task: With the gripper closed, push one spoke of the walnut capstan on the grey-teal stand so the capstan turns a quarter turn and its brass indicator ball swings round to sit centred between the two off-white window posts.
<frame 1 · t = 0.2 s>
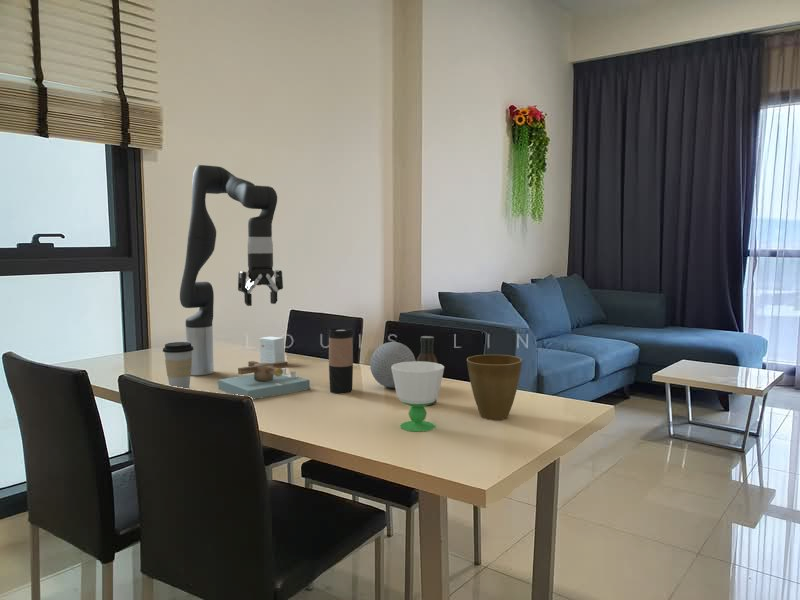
hand: (261, 304, 190), 28 cm above the table, tool pointing down, fingers open, 8 cm apart
stand: (264, 388, 201), on the table
small box: (272, 364, 241), on the table
travel mug: (341, 391, 198), on the table
capstan: (265, 371, 199), point 6 cm above the table, hinge at 0.0°
coffee cup: (179, 390, 199), on the table
sauce bottle: (426, 404, 183), on the table
decorative ball: (393, 387, 203), on the table
cup: (417, 427, 160), on the table
plant pot: (493, 417, 169), on the table
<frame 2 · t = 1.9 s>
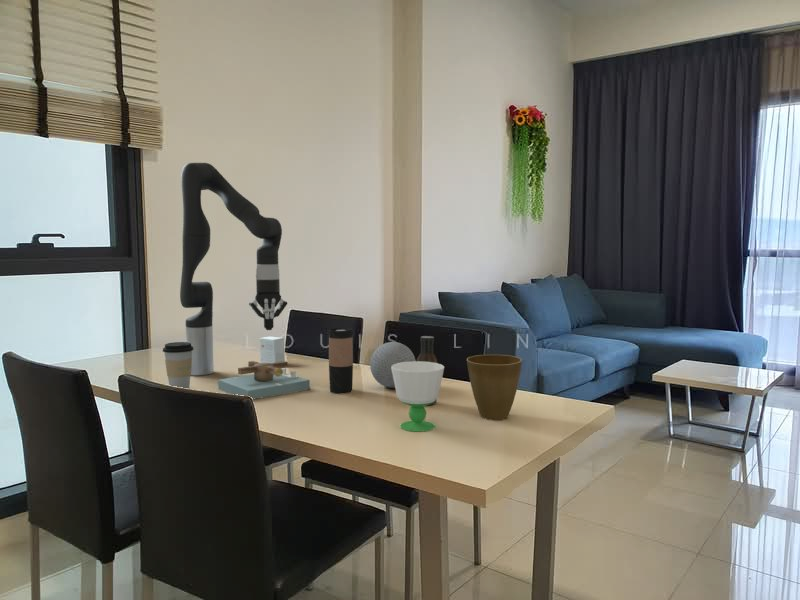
hand: (268, 329, 206), 18 cm above the table, tool pointing down, fingers closed
nothing on the table moved.
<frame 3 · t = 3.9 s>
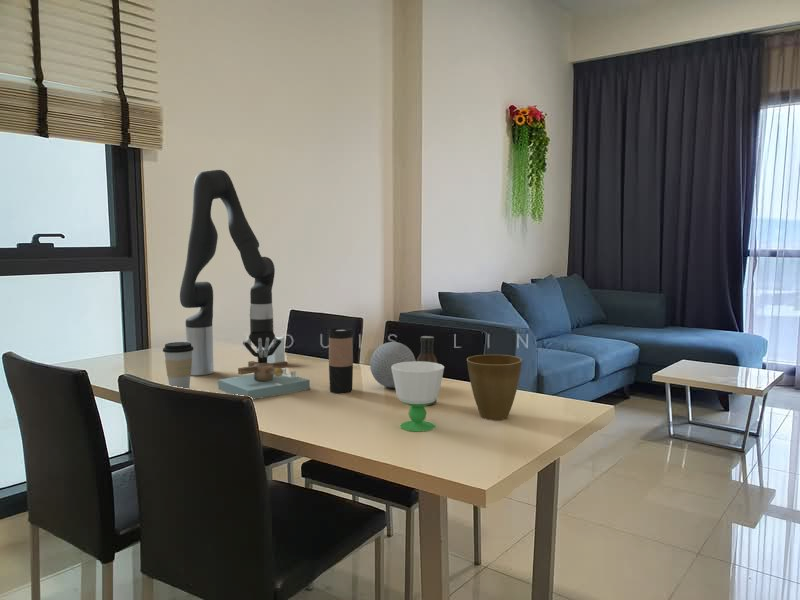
hand: (262, 368, 207), 5 cm above the table, tool pointing down, fingers closed
capstan: (265, 371, 199), point 6 cm above the table, hinge at 0.4°, touching gripper
everything else where it was.
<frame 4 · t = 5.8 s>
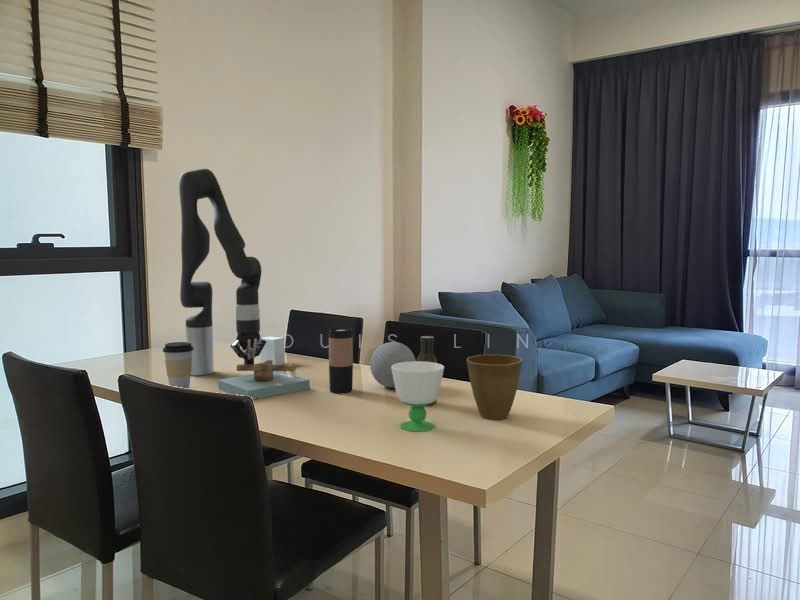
hand: (249, 370, 203), 6 cm above the table, tool pointing down, fingers closed
capstan: (266, 371, 200), point 6 cm above the table, hinge at 46.7°, touching gripper
everything else where it was.
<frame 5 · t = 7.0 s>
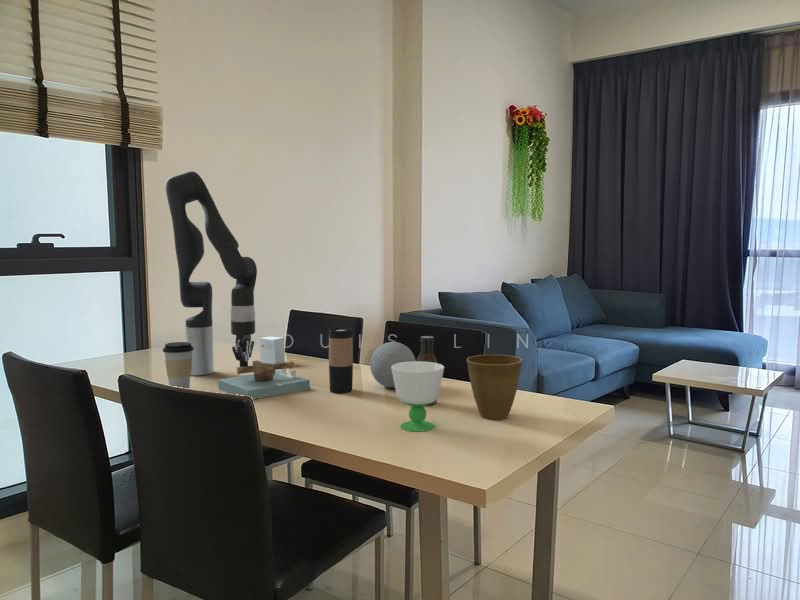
hand: (244, 372, 200), 6 cm above the table, tool pointing down, fingers closed
capstan: (266, 371, 201), point 6 cm above the table, hinge at 79.2°, touching gripper
everything else where it was.
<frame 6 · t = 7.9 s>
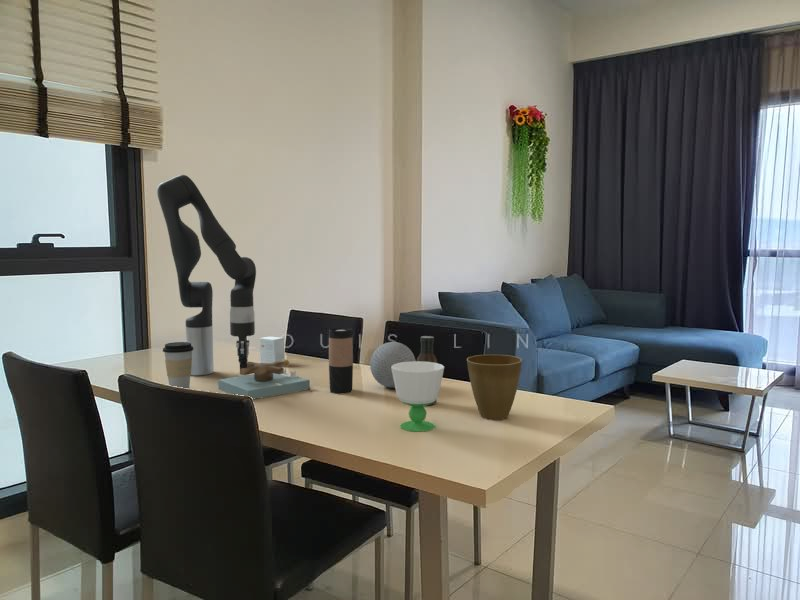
hand: (243, 374, 197), 6 cm above the table, tool pointing down, fingers closed
capstan: (266, 370, 201), point 6 cm above the table, hinge at 100.5°, touching gripper
everything else where it was.
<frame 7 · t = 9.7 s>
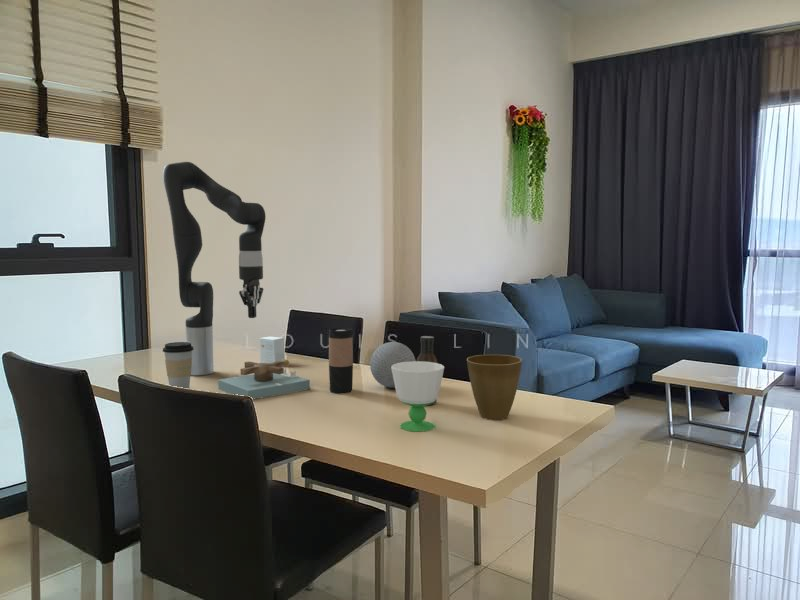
hand: (252, 317, 202), 23 cm above the table, tool pointing down, fingers closed
capstan: (266, 370, 201), point 6 cm above the table, hinge at 100.5°
everything else where it was.
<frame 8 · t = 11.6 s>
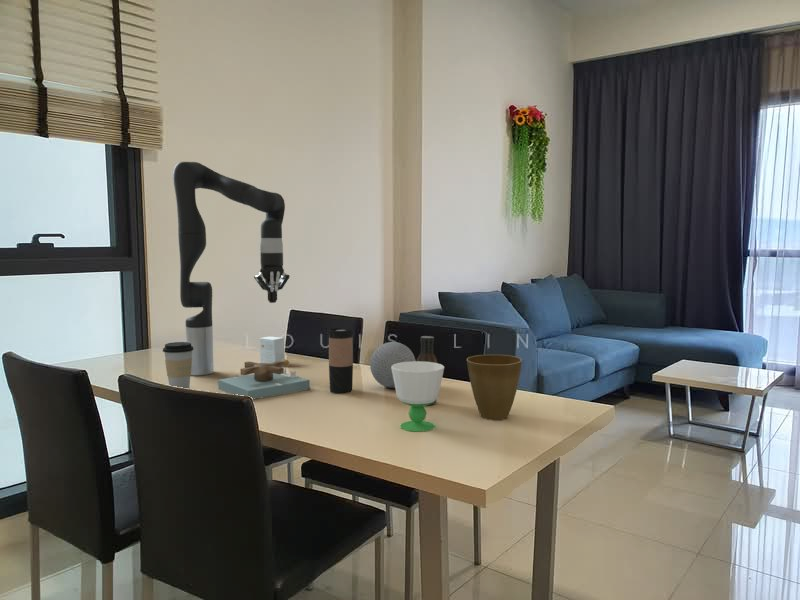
hand: (272, 302, 211), 27 cm above the table, tool pointing down, fingers closed
nothing on the table moved.
at the end: capstan at +100° (first picture: +0°) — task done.
